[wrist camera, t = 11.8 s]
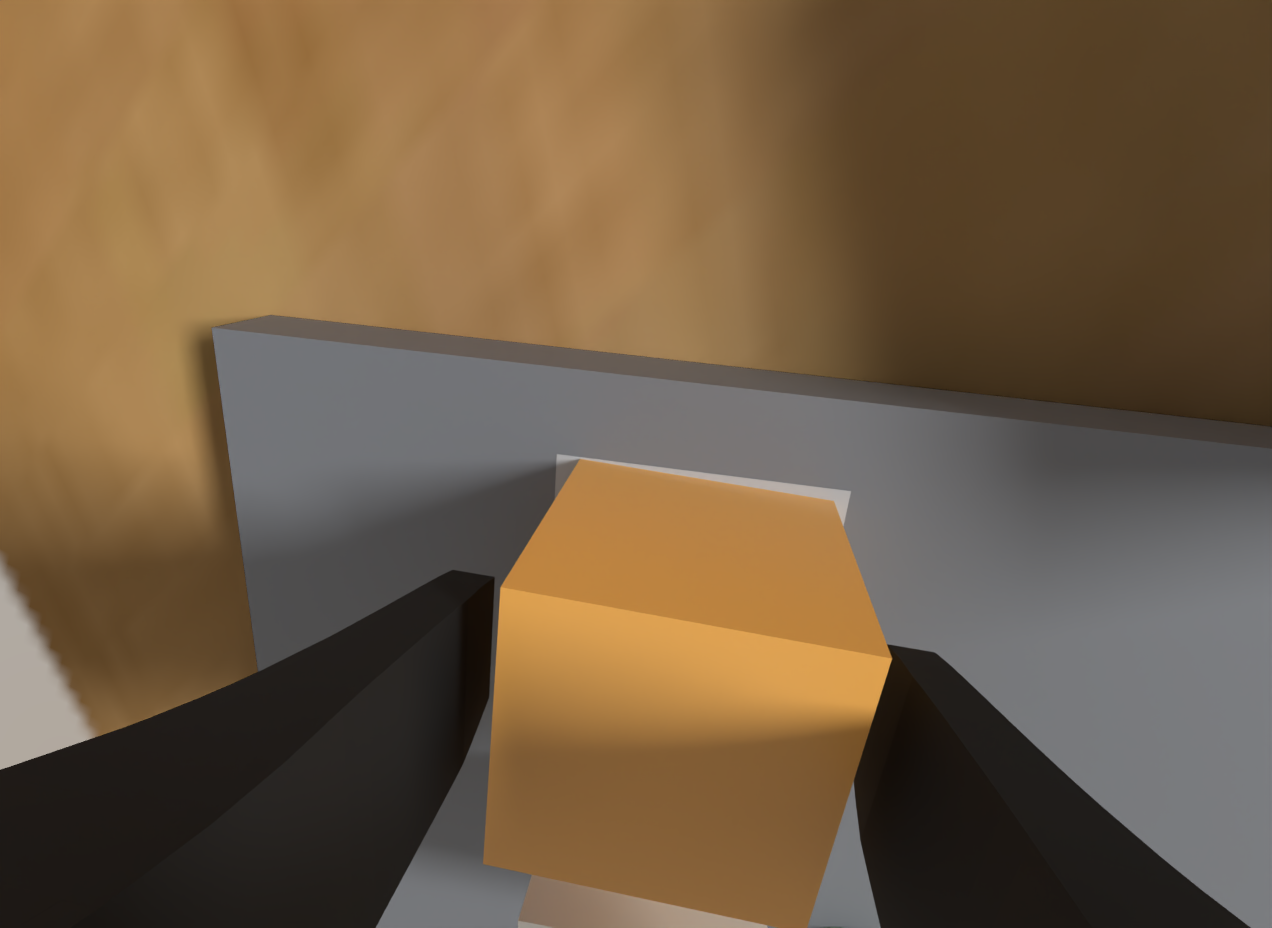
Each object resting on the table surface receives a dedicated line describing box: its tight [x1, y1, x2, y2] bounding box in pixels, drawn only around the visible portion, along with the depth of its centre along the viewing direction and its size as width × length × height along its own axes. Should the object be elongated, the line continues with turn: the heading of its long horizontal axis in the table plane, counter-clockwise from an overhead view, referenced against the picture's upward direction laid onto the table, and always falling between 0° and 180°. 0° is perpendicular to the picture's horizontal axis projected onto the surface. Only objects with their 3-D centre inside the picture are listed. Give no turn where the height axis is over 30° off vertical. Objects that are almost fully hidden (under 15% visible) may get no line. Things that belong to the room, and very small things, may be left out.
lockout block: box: [483, 459, 892, 928], centre depth 9 cm, size 4×4×4 cm
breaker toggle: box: [518, 875, 768, 928], centre depth 11 cm, size 4×2×3 cm, turn 85°
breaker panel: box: [212, 315, 1272, 928], centre depth 13 cm, size 20×14×2 cm
